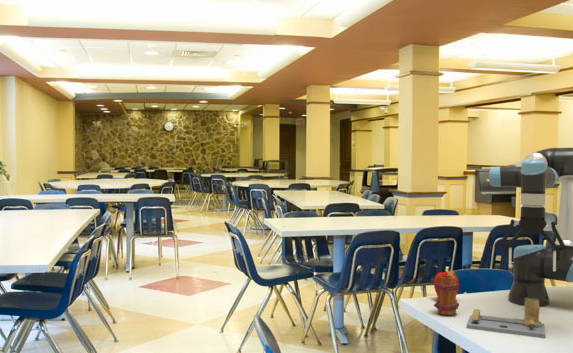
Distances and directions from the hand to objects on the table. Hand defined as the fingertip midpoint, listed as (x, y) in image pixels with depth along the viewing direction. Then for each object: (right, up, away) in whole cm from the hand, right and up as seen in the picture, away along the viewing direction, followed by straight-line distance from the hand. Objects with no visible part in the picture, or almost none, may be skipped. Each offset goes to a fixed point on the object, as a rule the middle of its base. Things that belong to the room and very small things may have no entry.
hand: (531, 268), depth 178 cm
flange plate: (-8, -20, +1) cm, 22 cm away
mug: (-22, -20, +20) cm, 36 cm away
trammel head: (-1, -19, -2) cm, 19 cm away
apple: (-17, -20, +38) cm, 46 cm away
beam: (-8, -19, +1) cm, 21 cm away
